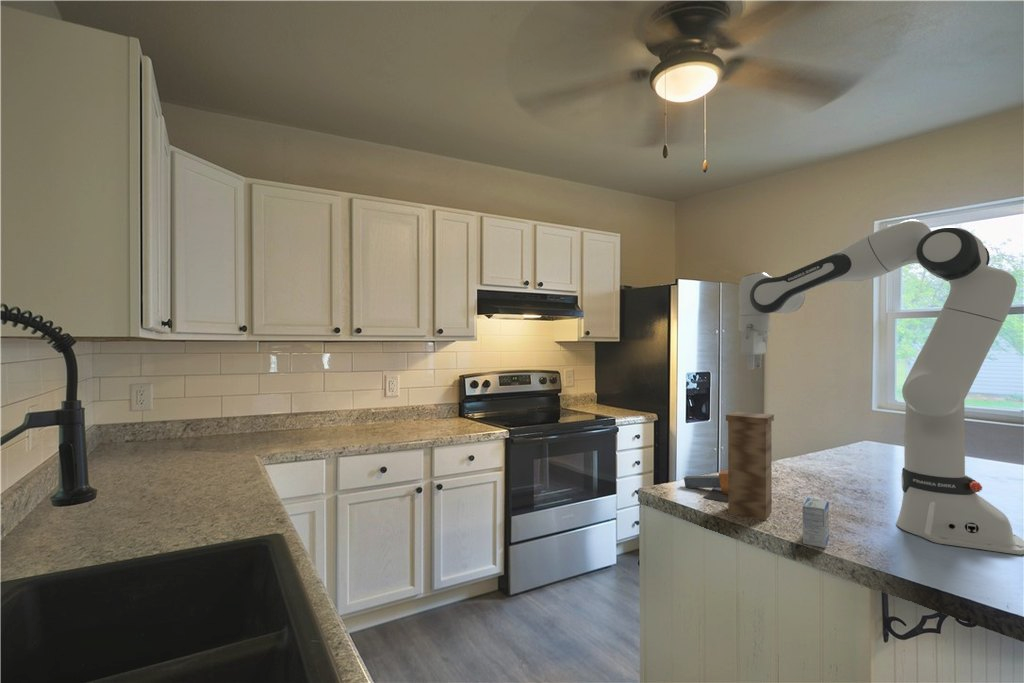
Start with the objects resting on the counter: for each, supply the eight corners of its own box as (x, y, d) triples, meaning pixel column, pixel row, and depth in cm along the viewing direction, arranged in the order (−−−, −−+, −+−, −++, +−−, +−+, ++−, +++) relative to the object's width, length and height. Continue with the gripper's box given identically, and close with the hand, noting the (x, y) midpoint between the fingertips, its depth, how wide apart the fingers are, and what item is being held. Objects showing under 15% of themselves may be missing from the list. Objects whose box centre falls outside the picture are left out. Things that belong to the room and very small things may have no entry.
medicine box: (825, 549, 107) (825, 509, 107) (802, 544, 110) (802, 505, 110) (829, 538, 113) (829, 500, 113) (806, 533, 116) (806, 496, 116)
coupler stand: (774, 511, 131) (773, 414, 131) (767, 521, 124) (767, 418, 124) (733, 504, 137) (733, 411, 137) (725, 513, 130) (725, 415, 130)
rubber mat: (749, 490, 150) (749, 489, 150) (736, 503, 137) (736, 502, 137) (718, 485, 156) (718, 484, 156) (703, 497, 143) (703, 496, 143)
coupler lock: (685, 471, 156) (681, 474, 152) (743, 469, 146) (740, 473, 142) (688, 490, 155) (684, 494, 151) (746, 490, 146) (744, 494, 142)
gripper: (758, 323, 144) (758, 370, 144) (770, 326, 160) (770, 368, 160) (735, 324, 148) (735, 370, 148) (749, 326, 164) (749, 367, 164)
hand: (754, 369), depth 154 cm, fingers open, 8 cm apart
